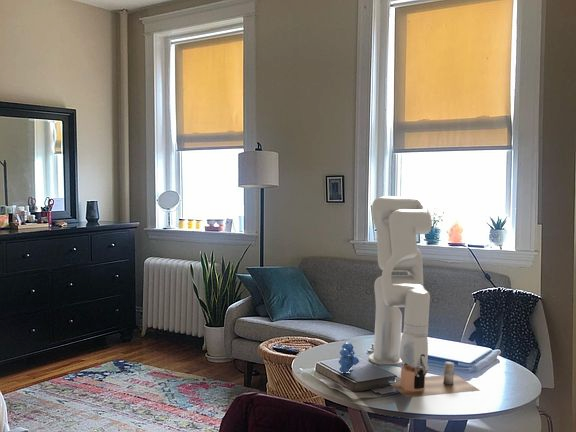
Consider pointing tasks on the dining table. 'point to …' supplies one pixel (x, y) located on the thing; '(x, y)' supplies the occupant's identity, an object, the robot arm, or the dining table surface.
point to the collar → (409, 378)
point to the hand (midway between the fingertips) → (412, 383)
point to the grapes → (347, 357)
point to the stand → (439, 384)
